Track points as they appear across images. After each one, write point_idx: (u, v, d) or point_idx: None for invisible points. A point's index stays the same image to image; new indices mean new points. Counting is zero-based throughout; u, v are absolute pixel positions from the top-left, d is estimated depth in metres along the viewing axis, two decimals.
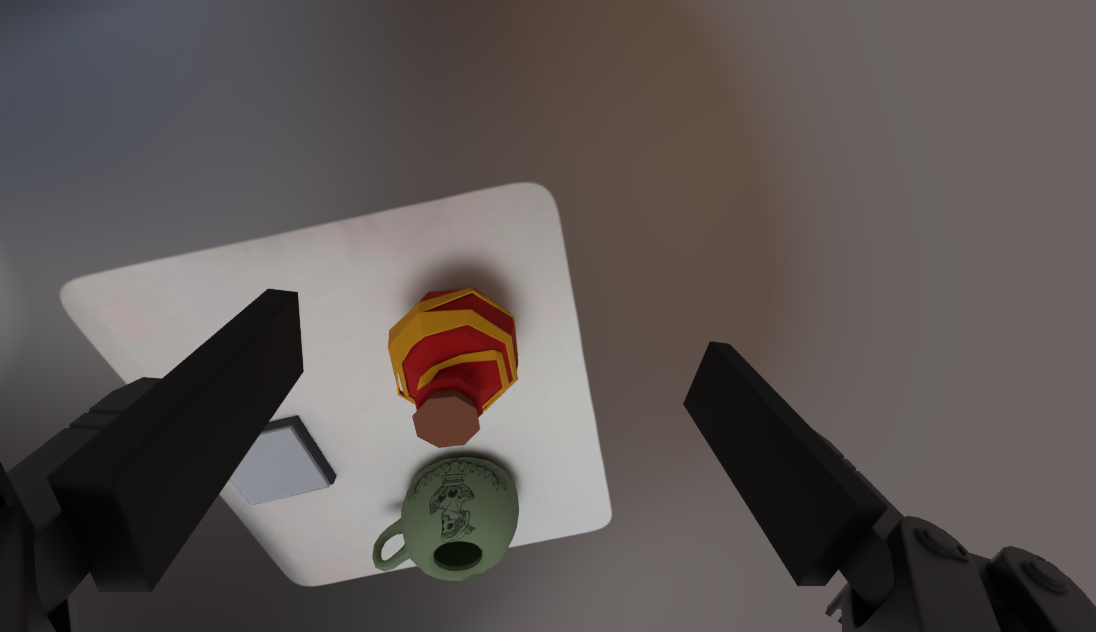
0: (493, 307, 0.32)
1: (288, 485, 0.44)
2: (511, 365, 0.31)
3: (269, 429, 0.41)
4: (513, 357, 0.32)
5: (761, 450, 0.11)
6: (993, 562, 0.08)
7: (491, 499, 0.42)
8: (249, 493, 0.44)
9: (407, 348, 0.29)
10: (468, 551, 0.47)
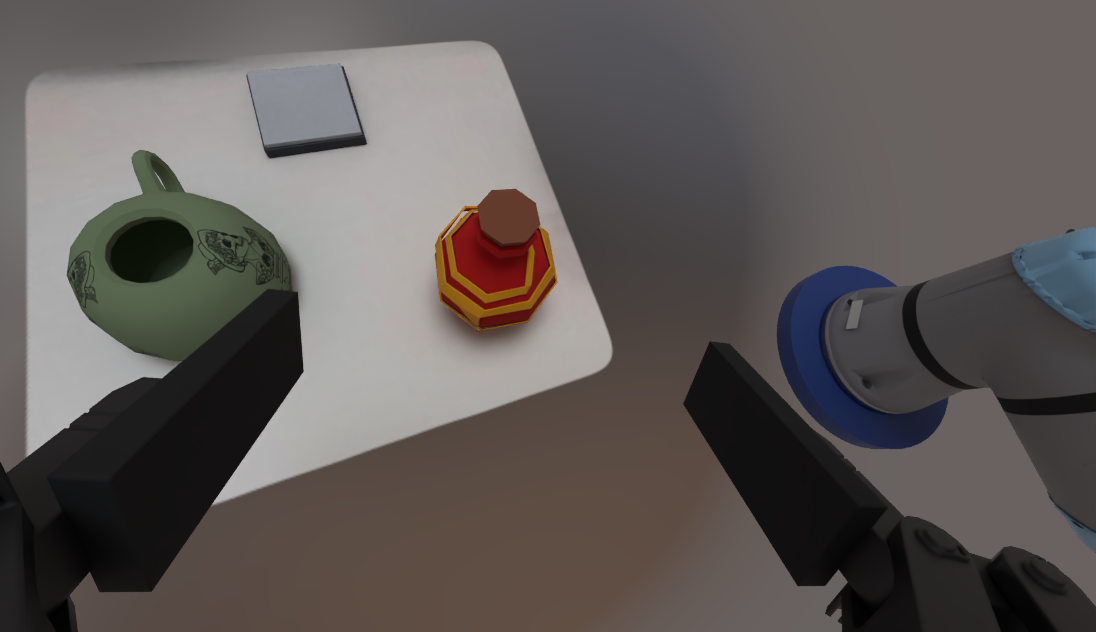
0: (541, 300, 0.35)
1: (274, 110, 0.40)
2: (503, 307, 0.31)
3: (357, 116, 0.42)
4: (508, 310, 0.32)
5: (761, 450, 0.11)
6: (993, 562, 0.08)
7: (244, 307, 0.30)
8: (267, 76, 0.41)
9: None
10: None
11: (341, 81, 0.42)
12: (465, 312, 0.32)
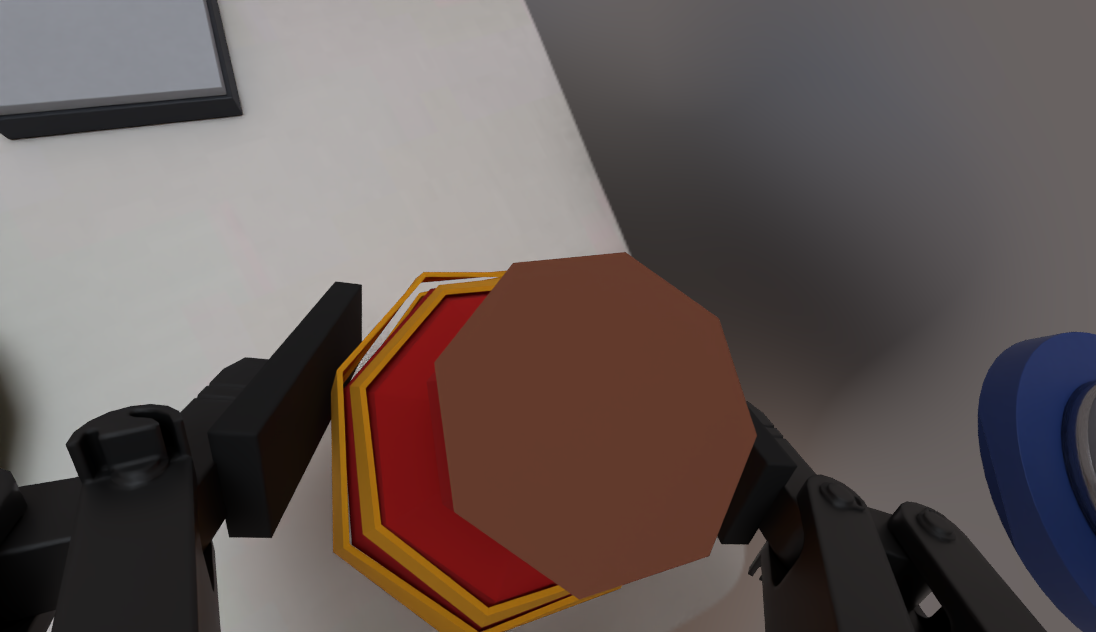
0: None
1: (20, 35, 0.18)
2: (538, 614, 0.10)
3: (220, 58, 0.20)
4: (555, 612, 0.10)
5: None
6: (893, 519, 0.09)
7: None
8: None
9: None
10: None
11: None
12: None
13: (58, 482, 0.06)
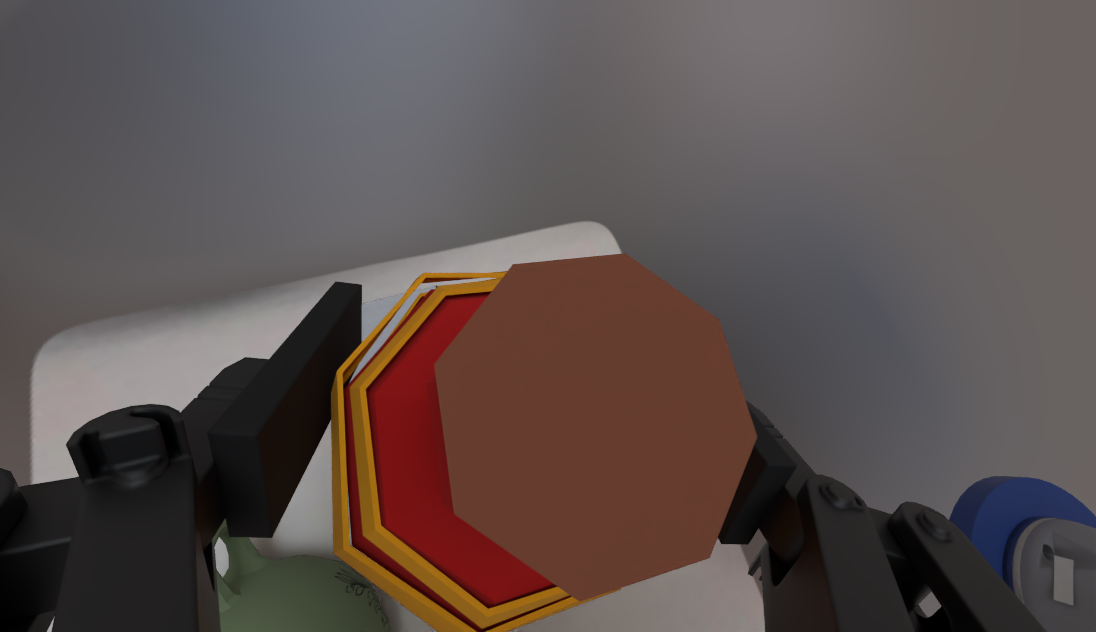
0: None
1: (357, 370, 0.30)
2: (538, 615, 0.10)
3: None
4: (555, 613, 0.10)
5: None
6: (893, 519, 0.09)
7: None
8: None
9: None
10: None
11: None
12: None
13: (58, 482, 0.06)
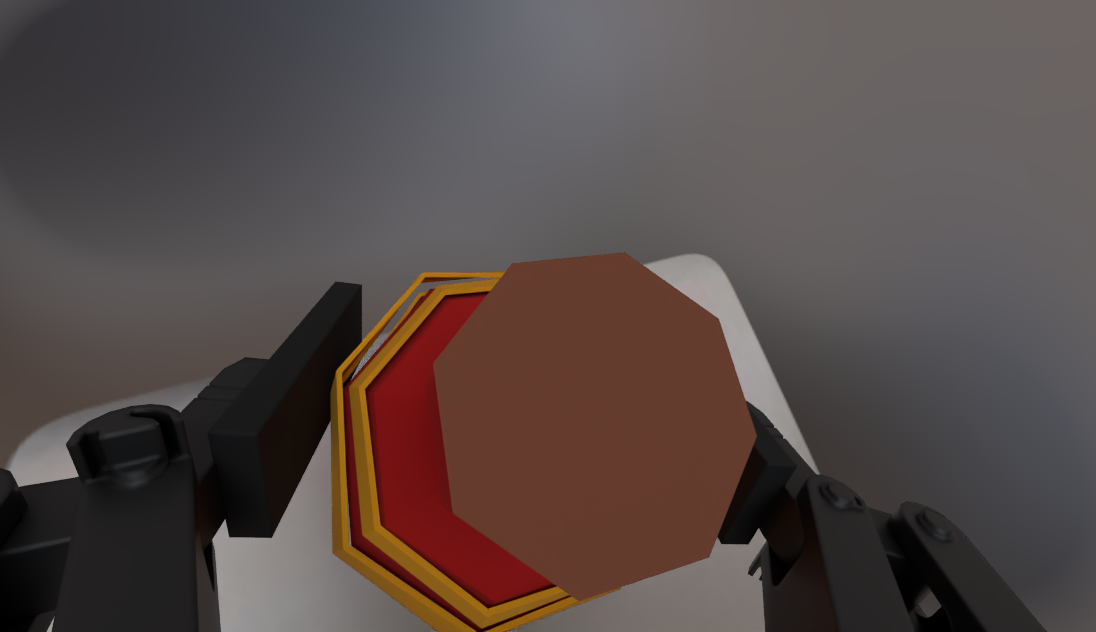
0: None
1: None
2: (538, 615, 0.10)
3: None
4: None
5: None
6: (893, 519, 0.09)
7: None
8: None
9: None
10: None
11: None
12: None
13: (58, 482, 0.06)
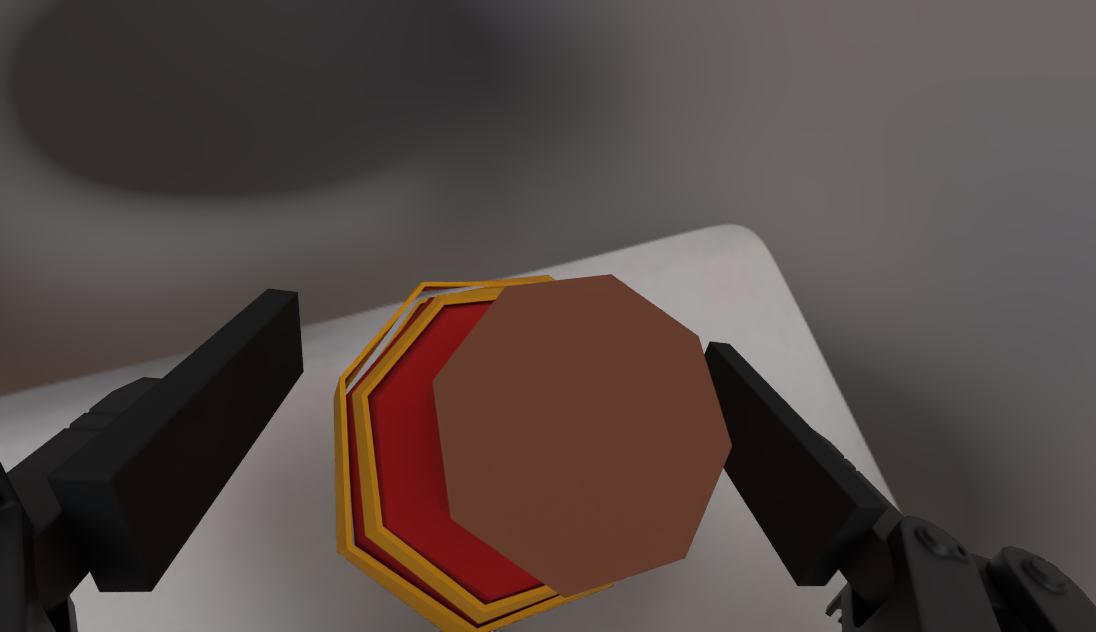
0: None
1: None
2: (533, 611, 0.10)
3: None
4: (549, 609, 0.10)
5: (761, 450, 0.11)
6: (993, 562, 0.08)
7: None
8: None
9: None
10: None
11: None
12: None
13: None
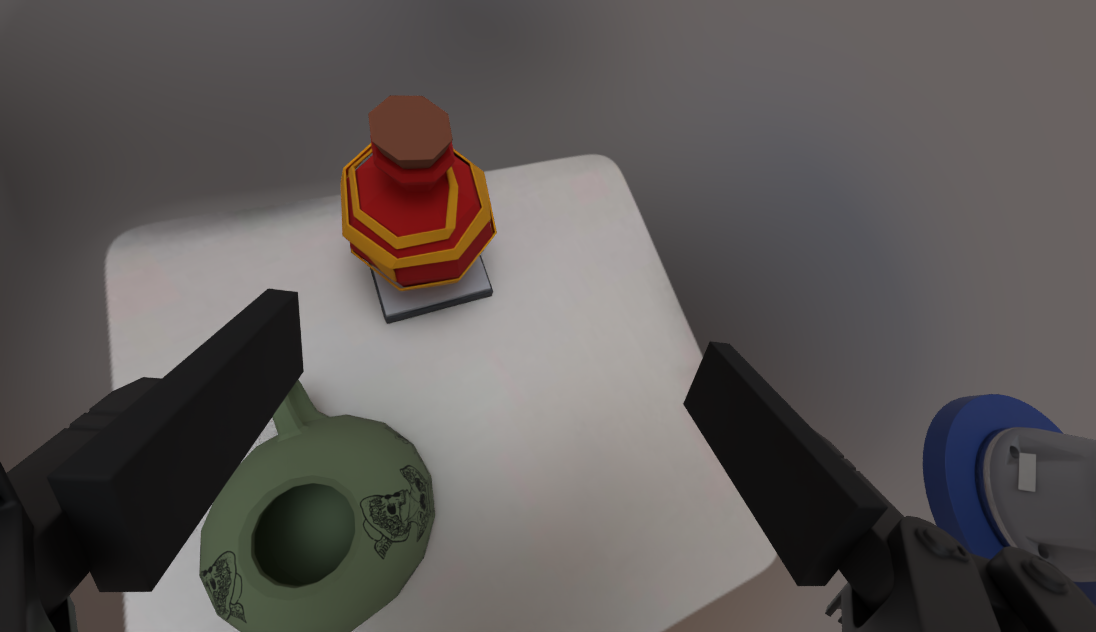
0: (476, 254, 0.29)
1: None
2: (420, 256, 0.25)
3: (482, 266, 0.36)
4: (429, 260, 0.26)
5: (761, 450, 0.11)
6: (993, 562, 0.08)
7: (404, 575, 0.24)
8: None
9: None
10: None
11: None
12: (376, 263, 0.26)
13: None
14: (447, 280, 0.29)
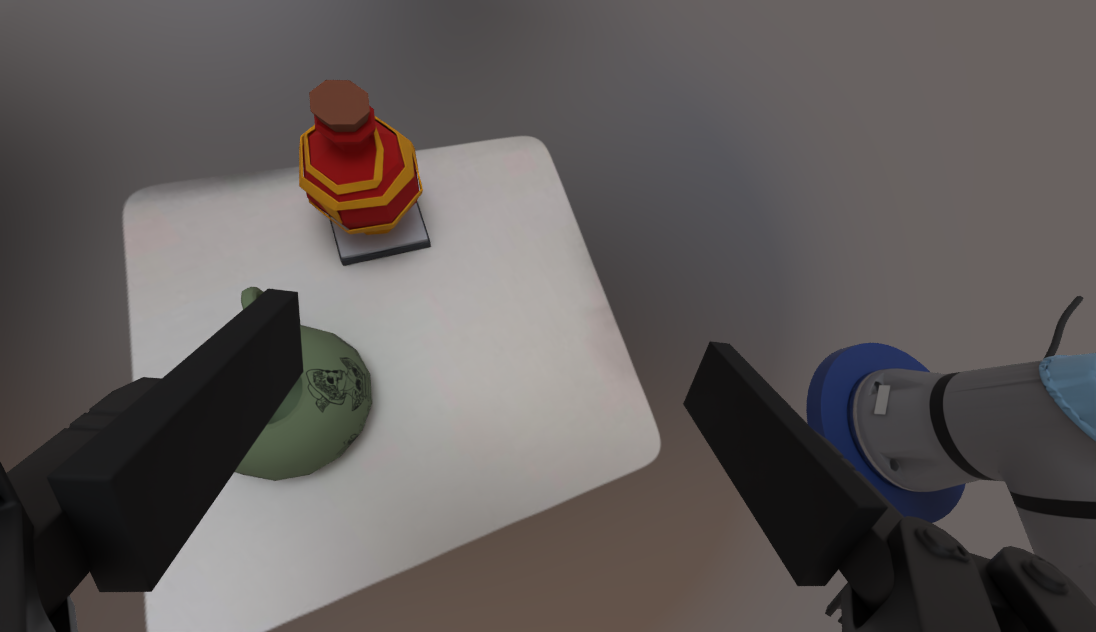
0: (406, 205, 0.38)
1: None
2: (356, 201, 0.34)
3: (422, 222, 0.45)
4: (363, 205, 0.35)
5: (761, 450, 0.11)
6: (993, 562, 0.08)
7: (342, 433, 0.33)
8: None
9: (383, 122, 0.36)
10: None
11: None
12: (325, 207, 0.35)
13: None
14: (383, 224, 0.38)
